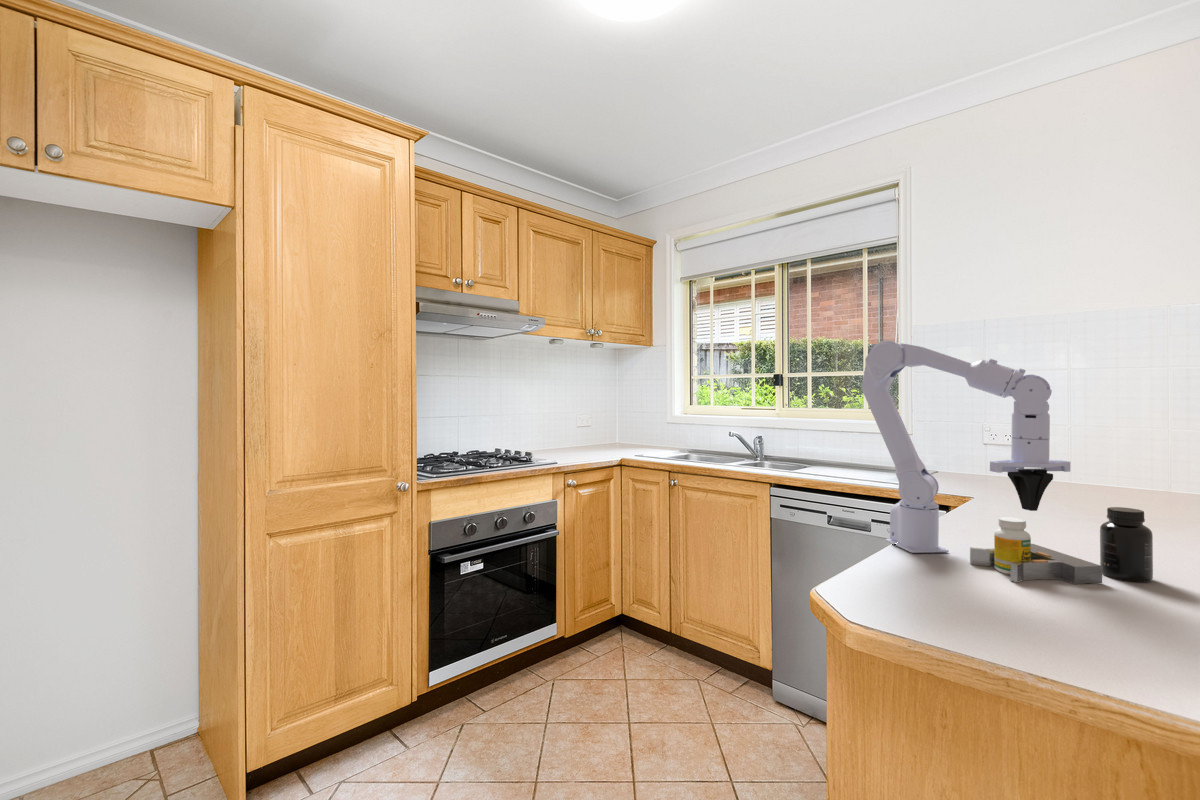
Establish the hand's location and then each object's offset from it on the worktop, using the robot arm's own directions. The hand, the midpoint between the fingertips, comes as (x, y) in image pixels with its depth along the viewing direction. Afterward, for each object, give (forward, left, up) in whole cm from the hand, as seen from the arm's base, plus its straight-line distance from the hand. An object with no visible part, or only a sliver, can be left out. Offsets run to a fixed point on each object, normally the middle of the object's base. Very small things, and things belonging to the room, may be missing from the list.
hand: (1029, 509), depth 106 cm
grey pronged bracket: (+4, -4, -10) cm, 12 cm away
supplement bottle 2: (+8, +11, -11) cm, 17 cm away
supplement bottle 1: (+4, -7, -11) cm, 13 cm away
